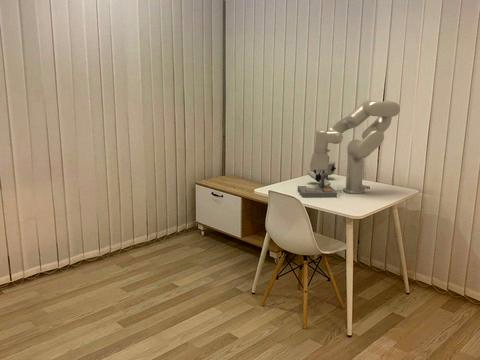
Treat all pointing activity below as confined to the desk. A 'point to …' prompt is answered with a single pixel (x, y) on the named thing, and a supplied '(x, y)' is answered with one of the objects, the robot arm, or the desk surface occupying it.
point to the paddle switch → (322, 183)
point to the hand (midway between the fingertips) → (317, 181)
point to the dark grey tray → (317, 192)
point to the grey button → (309, 189)
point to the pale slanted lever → (320, 180)
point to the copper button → (326, 189)
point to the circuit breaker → (329, 169)
